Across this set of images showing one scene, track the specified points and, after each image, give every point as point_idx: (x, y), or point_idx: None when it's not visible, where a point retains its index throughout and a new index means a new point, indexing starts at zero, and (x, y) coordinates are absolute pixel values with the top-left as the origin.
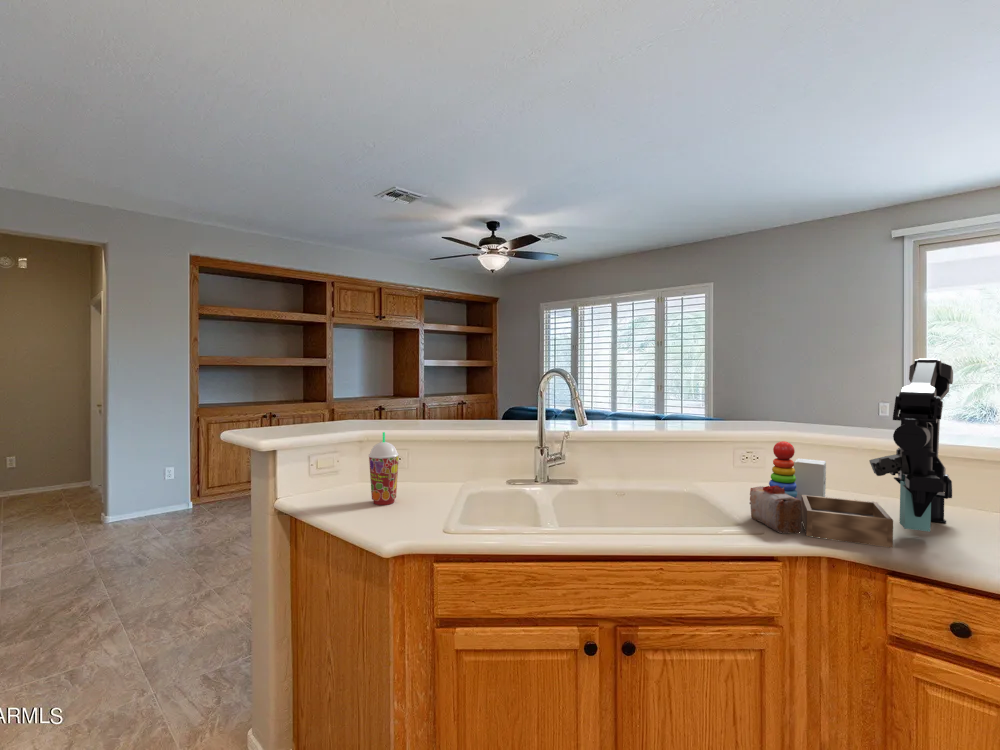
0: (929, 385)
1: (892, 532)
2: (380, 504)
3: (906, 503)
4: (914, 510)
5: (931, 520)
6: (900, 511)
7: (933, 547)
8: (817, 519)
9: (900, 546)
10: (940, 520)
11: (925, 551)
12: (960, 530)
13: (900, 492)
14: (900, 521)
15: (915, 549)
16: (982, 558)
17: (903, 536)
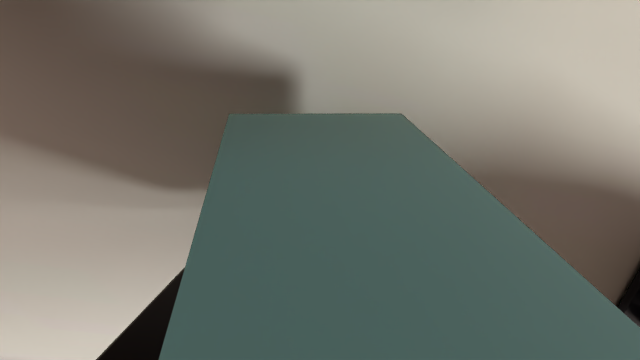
0: None
1: None
2: None
3: (190, 278)
4: (167, 288)
5: (635, 284)
6: (418, 156)
7: (149, 210)
8: None
9: (11, 16)
10: (627, 313)
11: (10, 153)
12: None
13: (625, 342)
14: (378, 120)
15: (10, 105)
16: (94, 349)
17: (316, 101)
